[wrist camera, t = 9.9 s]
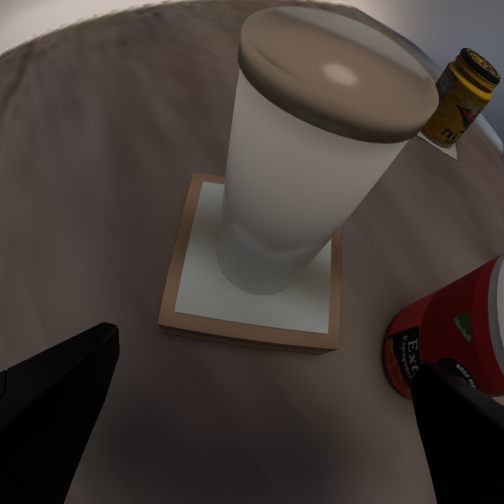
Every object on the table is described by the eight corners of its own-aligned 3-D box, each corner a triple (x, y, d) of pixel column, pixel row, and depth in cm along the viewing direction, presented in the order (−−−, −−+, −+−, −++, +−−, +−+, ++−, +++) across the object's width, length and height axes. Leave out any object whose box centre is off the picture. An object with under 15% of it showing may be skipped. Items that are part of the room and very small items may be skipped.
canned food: (360, 347, 20) (476, 306, 10) (422, 283, 23) (521, 220, 13) (414, 423, 18) (535, 423, 8) (468, 353, 21) (572, 319, 11)
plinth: (320, 354, 19) (340, 348, 16) (164, 332, 19) (156, 323, 16) (326, 220, 24) (341, 197, 21) (194, 196, 23) (193, 169, 20)
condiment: (456, 161, 30) (513, 94, 19) (397, 125, 30) (448, 45, 19) (452, 126, 33) (498, 65, 22) (400, 95, 33) (440, 25, 23)
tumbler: (269, 316, 17) (407, 159, 5) (196, 255, 17) (194, 33, 6) (321, 250, 19) (451, 79, 7) (254, 198, 19) (311, -3, 8)
